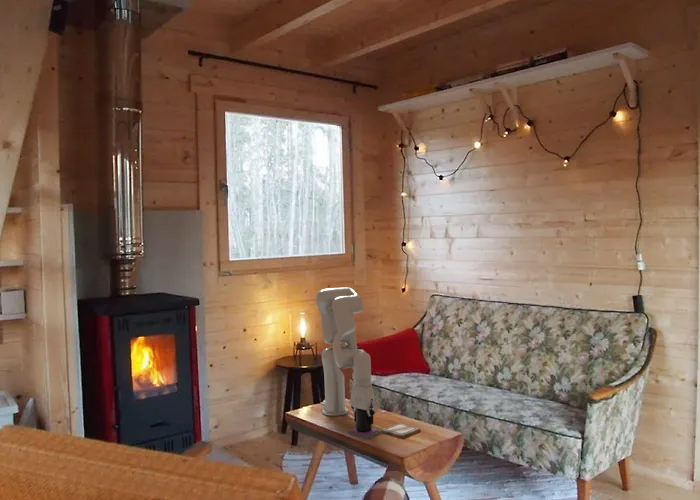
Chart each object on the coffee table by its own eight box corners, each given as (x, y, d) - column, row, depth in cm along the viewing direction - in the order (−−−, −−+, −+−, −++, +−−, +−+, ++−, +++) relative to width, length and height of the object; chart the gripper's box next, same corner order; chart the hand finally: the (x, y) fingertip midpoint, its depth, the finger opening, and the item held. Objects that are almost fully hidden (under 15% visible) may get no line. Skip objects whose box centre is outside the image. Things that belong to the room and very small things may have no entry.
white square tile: (381, 432, 270) (381, 429, 270) (398, 425, 279) (398, 422, 279) (403, 438, 262) (402, 435, 262) (420, 430, 270) (420, 428, 270)
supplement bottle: (370, 432, 265) (369, 405, 265) (354, 432, 267) (353, 404, 266) (373, 427, 272) (372, 400, 272) (357, 426, 273) (356, 399, 273)
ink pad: (347, 433, 270) (347, 429, 270) (361, 428, 276) (361, 424, 276) (366, 439, 262) (366, 435, 262) (380, 433, 269) (380, 429, 269)
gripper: (342, 380, 272) (343, 421, 273) (371, 387, 260) (373, 429, 261) (353, 377, 277) (355, 416, 278) (383, 383, 265) (384, 424, 266)
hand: (363, 422), depth 269 cm, fingers closed on supplement bottle, 6 cm apart
